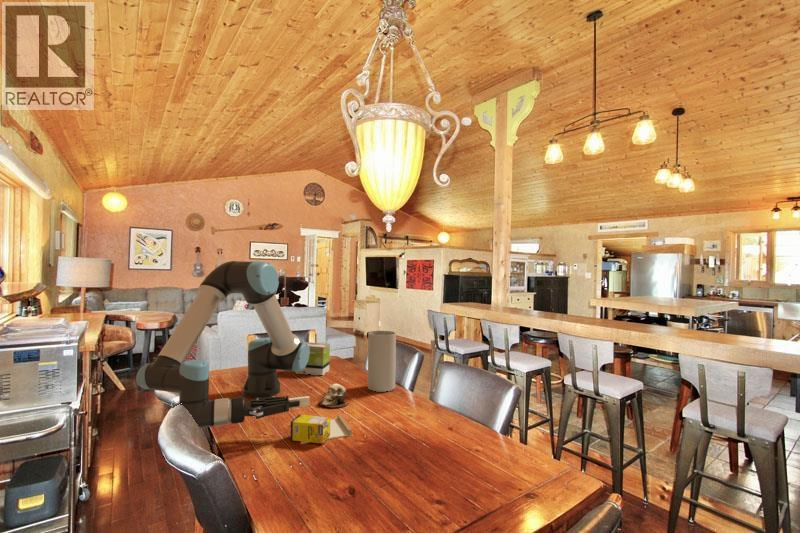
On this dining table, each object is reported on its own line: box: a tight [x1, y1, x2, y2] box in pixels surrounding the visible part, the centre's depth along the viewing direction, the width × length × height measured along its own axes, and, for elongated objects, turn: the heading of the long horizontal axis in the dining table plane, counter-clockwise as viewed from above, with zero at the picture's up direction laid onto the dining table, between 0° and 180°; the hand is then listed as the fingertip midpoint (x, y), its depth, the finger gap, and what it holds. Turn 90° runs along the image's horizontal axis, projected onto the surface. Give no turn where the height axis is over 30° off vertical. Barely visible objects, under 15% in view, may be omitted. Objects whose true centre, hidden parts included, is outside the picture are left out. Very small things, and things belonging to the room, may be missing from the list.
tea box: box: [294, 341, 331, 376], centre depth 195 cm, size 15×10×15 cm, turn 81°
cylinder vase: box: [367, 330, 397, 393], centre depth 172 cm, size 12×12×25 cm
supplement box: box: [290, 414, 331, 444], centre depth 119 cm, size 6×6×11 cm
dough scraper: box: [299, 414, 352, 445], centre depth 126 cm, size 16×14×2 cm
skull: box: [318, 383, 350, 408], centre depth 152 cm, size 12×10×10 cm
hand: (309, 400), depth 124 cm, fingers closed
